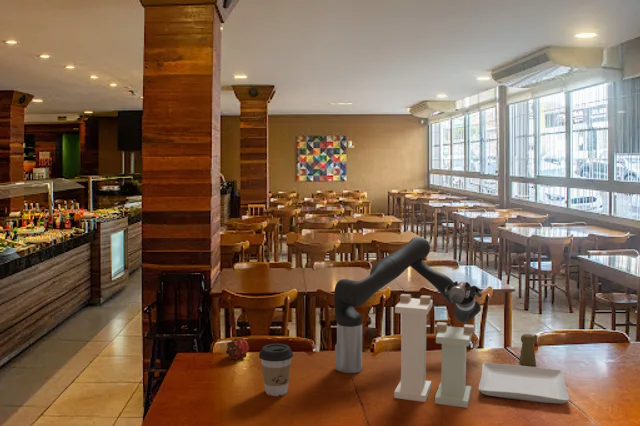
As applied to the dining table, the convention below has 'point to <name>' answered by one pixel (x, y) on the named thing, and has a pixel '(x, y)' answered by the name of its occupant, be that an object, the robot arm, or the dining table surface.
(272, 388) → the coffee cup
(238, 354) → the dragon fruit
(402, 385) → the tall stand
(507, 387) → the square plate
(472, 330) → the low stand
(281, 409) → the dining table surface
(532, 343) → the olive pepper mill
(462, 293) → the grey bulb-ended bar
